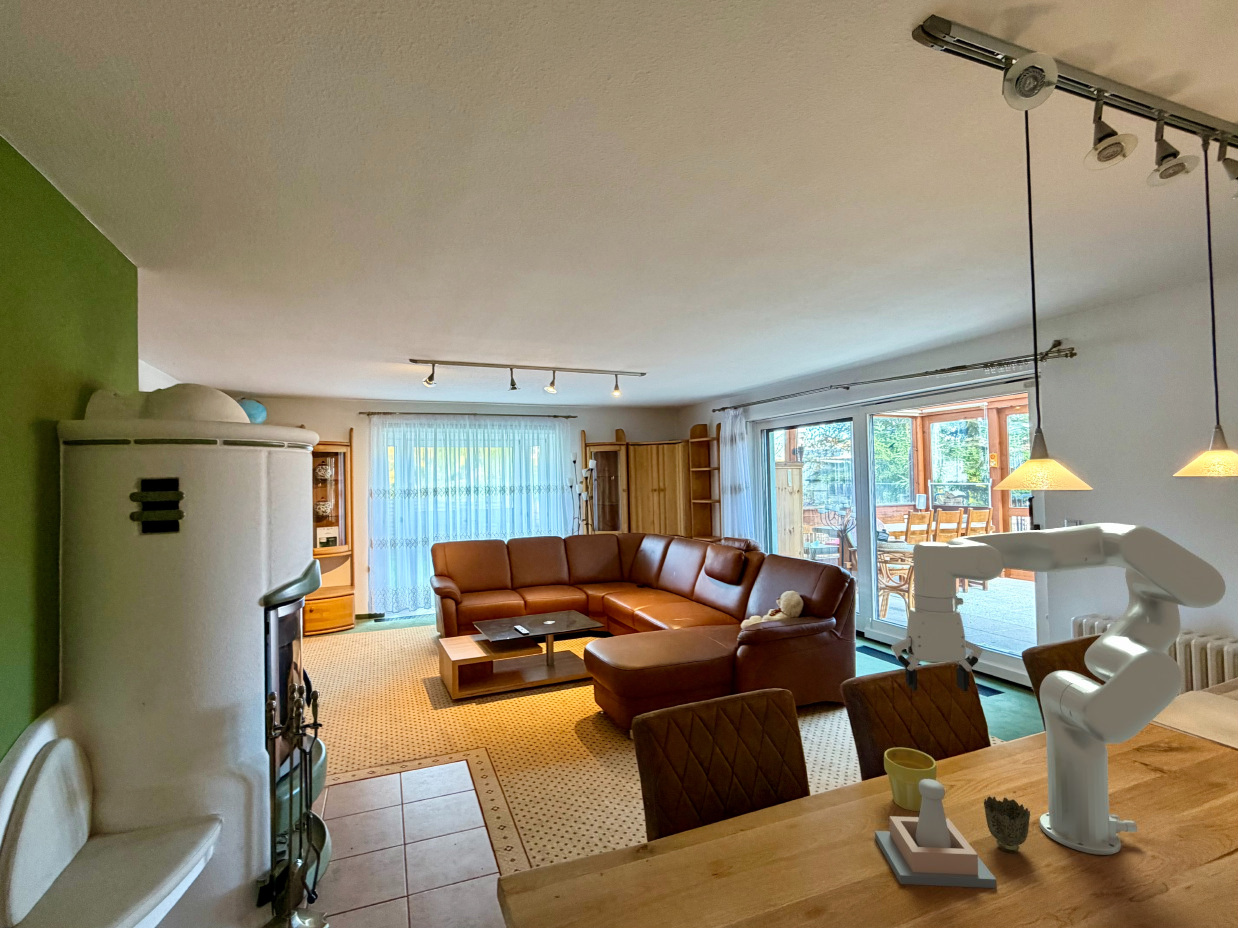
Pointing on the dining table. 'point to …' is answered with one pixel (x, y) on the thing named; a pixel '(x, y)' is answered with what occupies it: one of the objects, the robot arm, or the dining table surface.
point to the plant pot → (908, 775)
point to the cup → (1007, 822)
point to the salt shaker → (932, 816)
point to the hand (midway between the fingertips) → (937, 688)
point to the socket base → (932, 857)
